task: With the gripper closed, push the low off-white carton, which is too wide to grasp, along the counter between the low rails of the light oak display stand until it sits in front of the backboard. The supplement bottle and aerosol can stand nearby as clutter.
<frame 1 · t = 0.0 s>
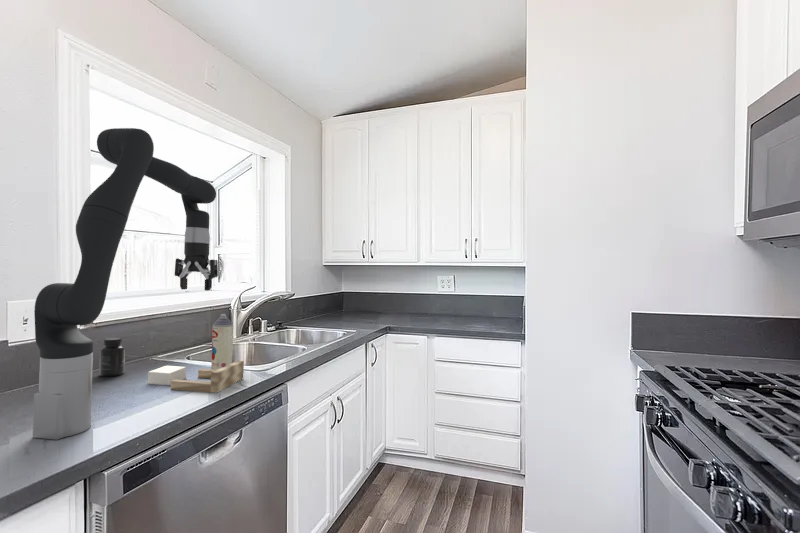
hand: (195, 289, 135), 29 cm above the worktop, fingers open, 8 cm apart
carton: (167, 381, 130), on the worktop
supplement bottle: (111, 375, 135), on the worktop
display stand: (210, 383, 128), on the worktop
aerosol can: (221, 370, 145), on the worktop
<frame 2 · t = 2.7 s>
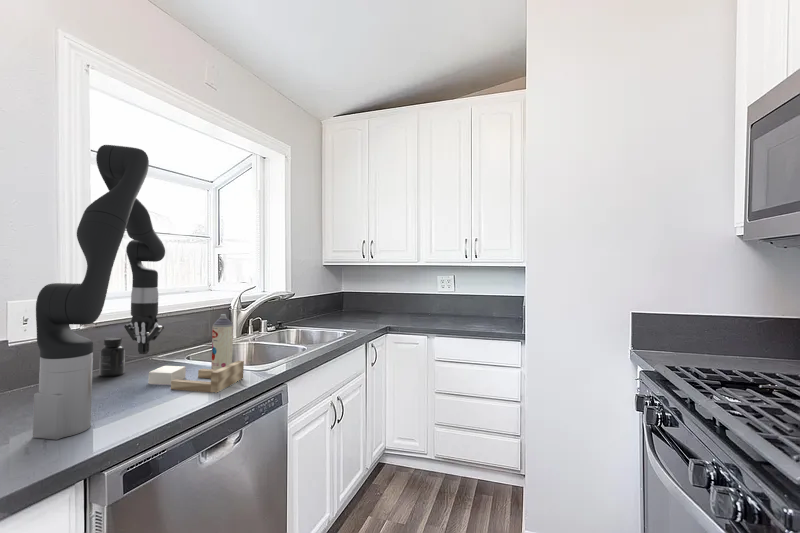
hand: (143, 353, 131), 8 cm above the worktop, fingers closed
nothing on the worktop moved.
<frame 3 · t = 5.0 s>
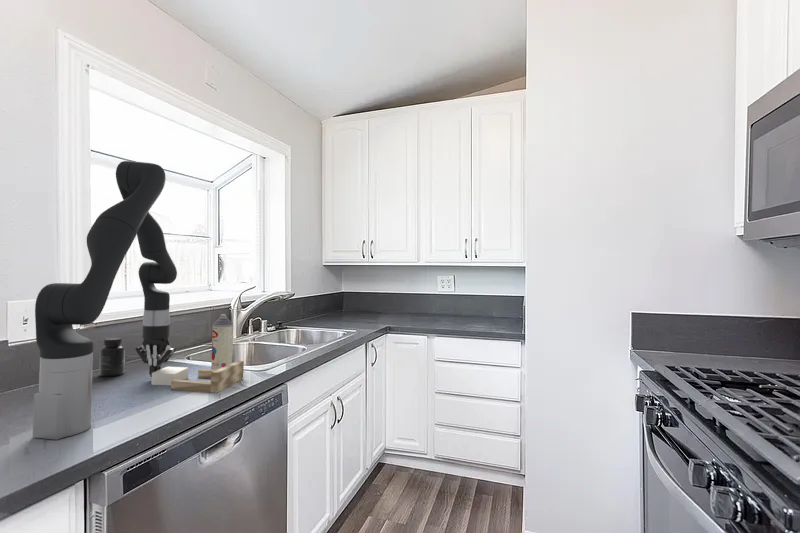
hand: (154, 376, 130), 1 cm above the worktop, fingers closed
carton: (170, 382, 129), on the worktop, touching gripper
everything else where it was.
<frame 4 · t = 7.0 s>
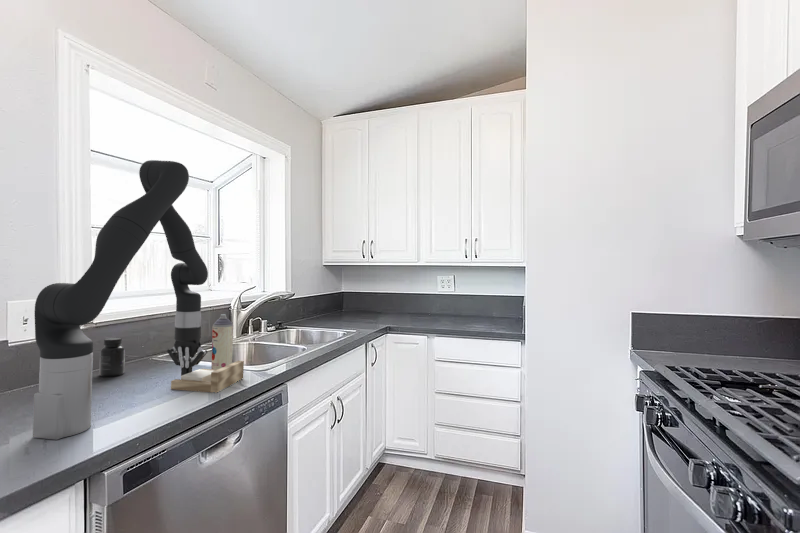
hand: (186, 378, 129), 1 cm above the worktop, fingers closed
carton: (199, 385, 127), on the worktop
everything else where it was.
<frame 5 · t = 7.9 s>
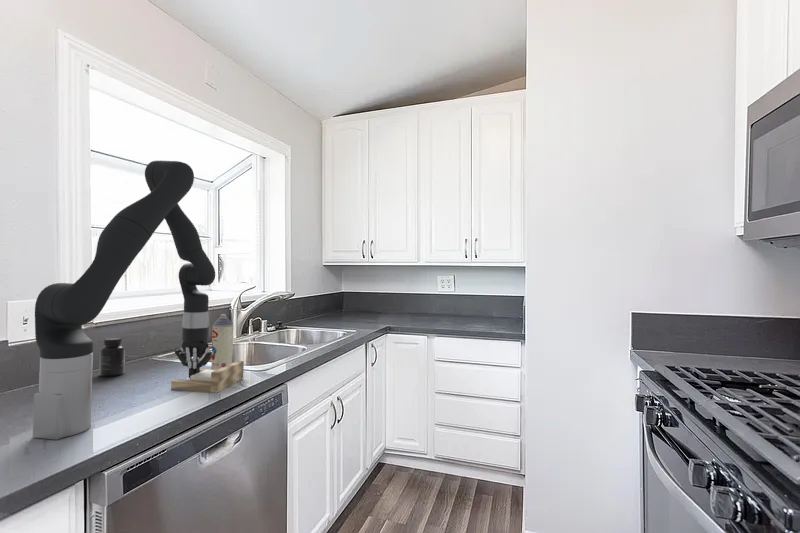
hand: (194, 379, 129), 1 cm above the worktop, fingers closed
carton: (208, 386, 127), on the worktop
everything else where it was.
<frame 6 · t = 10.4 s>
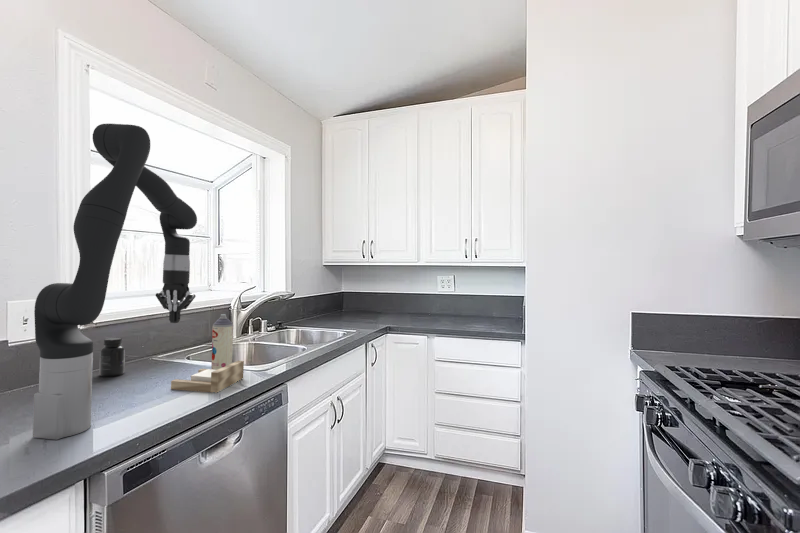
hand: (174, 322, 130), 19 cm above the worktop, fingers closed
nothing on the worktop moved.
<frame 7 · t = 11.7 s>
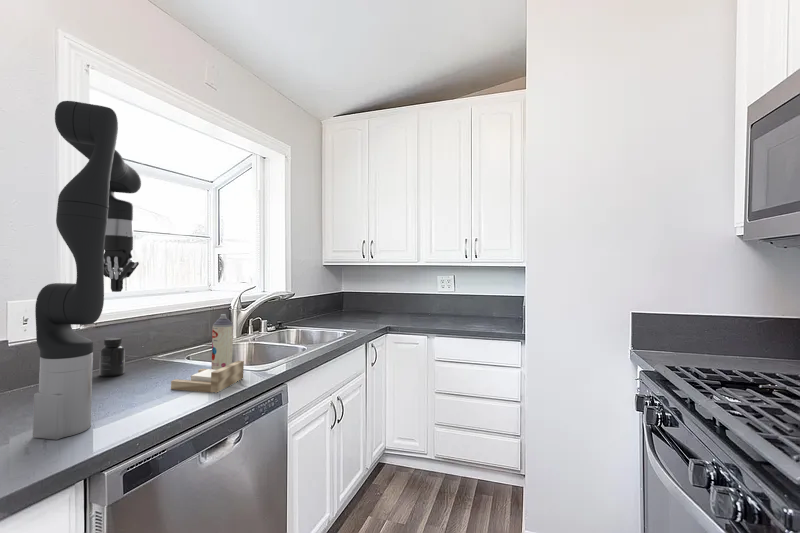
hand: (116, 291, 122), 29 cm above the worktop, fingers closed
nothing on the worktop moved.
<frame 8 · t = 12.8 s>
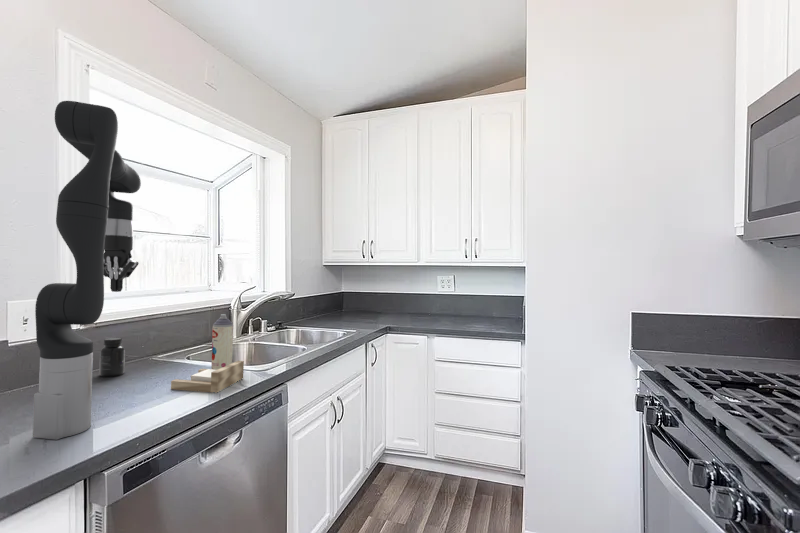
hand: (116, 291, 122), 29 cm above the worktop, fingers closed
nothing on the worktop moved.
at the end: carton 0.8 cm off-centre on the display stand, point 0.0 cm above the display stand's base; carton tilted 0°; the gripper is holding nothing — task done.
